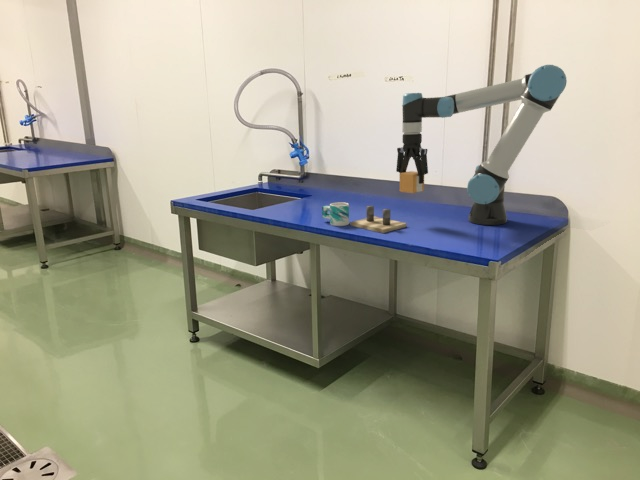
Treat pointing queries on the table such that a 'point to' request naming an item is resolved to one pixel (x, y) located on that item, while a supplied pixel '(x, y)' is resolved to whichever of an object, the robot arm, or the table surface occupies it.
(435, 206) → the table surface
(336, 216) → the mug
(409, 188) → the wooden block
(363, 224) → the board
